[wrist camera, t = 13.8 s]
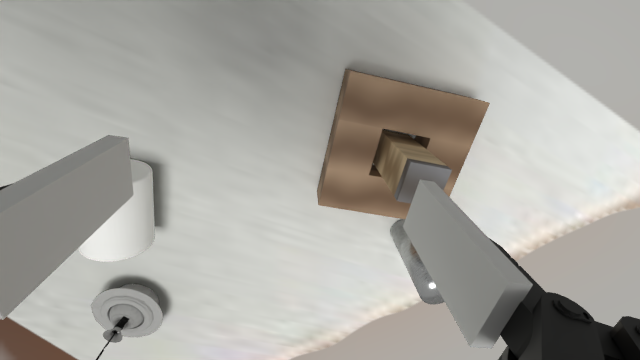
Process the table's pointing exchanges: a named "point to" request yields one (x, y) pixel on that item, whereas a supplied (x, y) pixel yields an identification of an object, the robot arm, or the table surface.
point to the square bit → (407, 165)
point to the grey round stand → (127, 312)
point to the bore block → (398, 115)
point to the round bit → (415, 265)
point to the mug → (126, 222)
